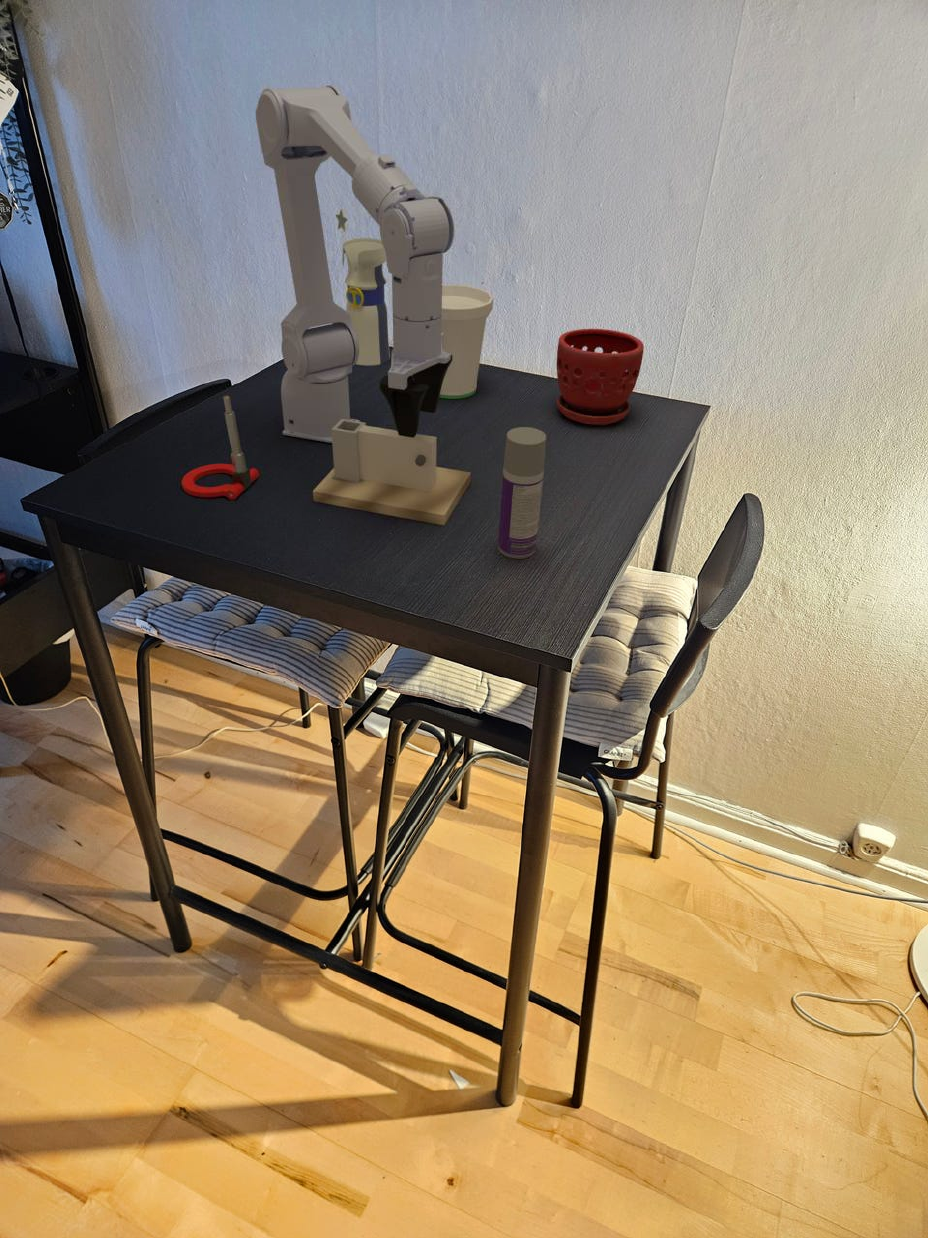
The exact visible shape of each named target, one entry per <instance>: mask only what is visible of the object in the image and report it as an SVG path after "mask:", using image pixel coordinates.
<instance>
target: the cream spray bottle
mask: <svg viewBox="0 0 928 1238" xmlns="http://www.w3.org/2000/svg"><path fill="white" fill-rule="evenodd" d="M339 211H340V212H339V214H335V217H336V219H337V221H338V224H337V230H340V229H342V230H343V232H345V233H346V223H347V221H348V220H349V219H348V218H347V217H346V216H345V215H344V211H343V208H341V209H340V210H339ZM345 256H346V262H347V266H348V269H347V276H346V278H345V280H344V283H345V284H346V285H347V289H346V291H345V293H346V294H345V298H346V301H347V302H346V303H347V304H346V309H345V310H346V311H347V312H348V313H350V315H351V319H352V324H353V327H354V330H355V333H356V335H357V338H358V341H359V348H360V351H359V357H358V360H357V362H356V364H355V365H359V366H379V365H383V364H385V363H387V362H389V360H391V355H390V353H391V352H390V341H389V324H388V321H389V320H388V318H389V317H388V316H389V315H388V307H387V303H386V301H385V285H386V283H387V279H386V277H385V276H384V272H383V264H384V263H387V258H386V252H385V249H384V247H383V244H382V240H381V239H379V238H371V237H360V238H359V237H358V238H353V239H349V240H346V241H344V242H343V243H342V259H341V260H342V261H341V263H342V267H344V265H345Z"/></svg>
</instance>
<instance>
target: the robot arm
mask: <svg viewBox="0 0 928 1238" xmlns="http://www.w3.org/2000/svg"><path fill="white" fill-rule="evenodd" d="M351 118H352V117H351V109H350V103H349V100H348V98H346V97H345V96H344V94H343V93H342V91H341V90H340V88H338V87H337V86H336V85H333V84H331V85H326V86H321V87H317V86H315V87H295V88H294V87H293V88H274V87H266V88H264V89H263V90H262V92H261V93H260V96H259V97H258V101H257V106H256V110H255V120H256V121H255V122H256V125H257V131H258V138H259V143H260V149H261V154H262V158H263V163H264V165H265V166H267V167H269V168H271V169H273V171H274V177H275V184H276V190H277V195H278V201H279V202H278V203H279V207H280V208H279V209H280V213H281V218H282V223H283V224H282V225H283V229H284V231H283V232H284V236H285V242H286V249H287V254H288V260H289V266H290V272H291V278H292V284H293V288H294V289H293V290H294V295H295V296H294V297H295V300H296V304H295V306H294V307H293V308H292V309H291V310H290V311H289V312H288V314H287V315H286V316H285V317H284V319H282V321H281V323H280V326H281V339H282V340H281V353H282V358H283V362H284V365H285V367H286V368H287V370H286V372H285V373H284V374H283V376H282V380H281V386H280V396H281V407H282V417H283V428H284V430H283V431H282V435H283V436H287V437H288V436H289V437H294V438H295V437H296V438H300V439H306V440H310V441H311V440H312V441H319V442H325V443H329V444H332V431H331V429H332V428H333V427H334V426H335V425H336V424H337V423H338V422H339V421H340V420H341V419H346V420H352V421H358V422H361V421H360V419H355V418H351V414H350V411H351V410H350V409H351V408H350V395H349V391H350V390H349V379H348V378H349V376H348V375H349V374H352V373H353V366H355V365H357V364H356V362H357V360H358V357H359V351H360V348H359V341H358V338H357V335H356V333H355V330H354V327H353V324H352V319H351V315H350V313H348V312H347V311H346V309H345V308H343V307H341V306H340V305H339V304H338V303H335V302H334V297H333V290H332V283H331V275H330V270H329V263H328V257H327V249H326V248H327V247H326V242H325V236H324V235H325V234H324V230H323V223H322V217H321V210H320V203H319V197H318V190H317V189H318V188H317V181H316V173H317V172H318V170H319V167H320V166H321V164H322V163H324V162H326V161H328V160H329V159H330V158H332V159H333V160H334V161H335V162H336V163H337V165H339V167H341V168H342V169H343V170H344V171H345V172H346V173H347V174H348V175H349V176H350V177H351V178H352V180H351V189H352V193H353V195H354V197H355V198H356V199H357V201H359V204H360V205H362V207H363V208H364V209H365V211H367V213H368V214H369V215H370V217H372V218H373V220H374V221H375V223H376V224H377V225H378V226H379V234H380V240H382V244H383V247H384V249H385V252H386V258H387V261H386V267H387V270H388V271H387V272H388V273H389V274H390V275H391V293H392V295H391V297H392V342H393V343H392V350H391V357H390V360H391V362H390V364H391V365H390V369H389V370H388V371H387V375H384V376H383V377H382V378H381V379H380V380H379V389H380V392H382V394H383V396H384V398H385V400H386V401H387V403H388V406H389V407H390V410H391V412H392V413H391V414H392V416H393V420H394V424H395V427H396V431H398V434H399V436H405V437H412V438H414V437H415V436H416V434H418V429H419V423H420V414H421V412H423V413H428V414H429V413H430V414H434V413H436V410H437V408H438V403H439V399H440V397H439V395H440V391H441V387H442V383H443V380H444V377H445V374H446V372H447V369H448V367H449V365H450V364H451V362H452V358H453V356H452V355H451V353H449V352H444V351H443V345H444V333H441V331H442V285H443V260H444V259H443V257H444V255H443V254H445V253H447V252H448V251H449V250H450V249H451V247H452V246H453V242H454V238H455V222H454V218H453V215H452V212H451V210H450V208H449V206H448V204H447V203H446V201H445V200H444V198H443V197H441V196H439V195H431V196H430V195H429V194H428V193H422V192H421V191H420V190H419V188H418V187H417V186H416V185H415V184H414V183H413V182H412V180H411V179H410V178H409V177H408V176H407V175H406V174H405V172H403V170H402V169H401V168H400V167H399V166H398V164H397V162H396V160H395V158H394V157H393V156H392V155H390V154H382V153H376V154H375V153H374V152H373V150H372V149H371V148H370V146H369V144H368V143H367V142H366V141H365V139H364V138H363V136H362V134H361V133H360V132H359V130H358V129H357V128H356V127H355V125H354V123H353V122H352V121H351V120H352V119H351Z"/></svg>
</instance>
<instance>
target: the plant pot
mask: <svg viewBox="0 0 928 1238" xmlns="http://www.w3.org/2000/svg"><path fill="white" fill-rule="evenodd" d="M585 347H586V349H585V350H584V348H585ZM597 348H600V349H601V350H602V352H596V349H597ZM644 348H645V347H644V343H643V342H642V340H640V339H639V338H638V337H636V336H634V335H631V334H630V333H626V332H622V331H619V330H614V329H613V330H612V329H604V328H603V329H602V328H581V329H573V330H570V331H567V332H564V333H562V334H561V335H560V336H559V337H558V343H557V349H556V351H557V352H556V378H557V383H558V388H559V391H560V395H559V397H557V400H556V405H557V408H558V409H559V411H560V413H561V414H563V416H564V417H566V418H568V419H570V420H572V421H575V422H578V423H581V424H587V425H601V426H606V425H609V424H612V423H613V424H614V423H616V422H619V421H621V420H622V419H624V418H625V417H626V416H627V415H628V414H629V412H630V409H631V405H630V403H629V401H628V399H629V398H630V396H631V395H632V393H633V392H634V389H635V387H636V385H637V381H638V378H639V375H640V372H641V367H642V362H643V357H644V351H645V350H644Z"/></svg>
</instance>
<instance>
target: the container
mask: <svg viewBox="0 0 928 1238" xmlns="http://www.w3.org/2000/svg"><path fill="white" fill-rule="evenodd" d="M546 447H547V436H546V433H545V432H544V431H542V430H540V429H537V428H534V427H529V426H527V427H525V426H523V427H522V426H520V427H514V428H512V429H510V430H509V431H507V432H506V440H505V449H504V459H503V460H504V461H503V469H502V481H501V497H500V510H499V511H500V512H499V524H498V525H499V526H498V538H497V549H498V551H499V552H500V554H502V555H503V556H505V557H507V558H510V559H518V560H519V559H526V558H529V557H531V556H533V555H534V554H535V553H536V550H537V549H536V548H537V542H538V541H537V540H538V532H539V522H540V513H541V505H542V504H541V503H542V493H543V485H544V474H545V473H544V472H545V461H546V460H545V457H546Z"/></svg>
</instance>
